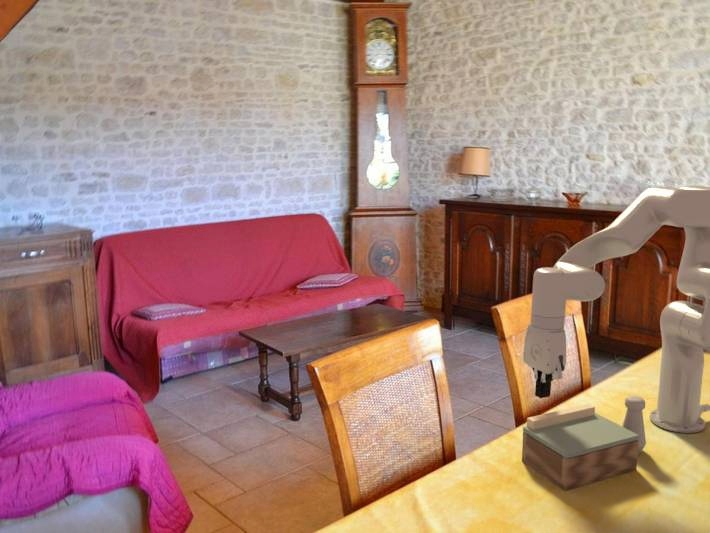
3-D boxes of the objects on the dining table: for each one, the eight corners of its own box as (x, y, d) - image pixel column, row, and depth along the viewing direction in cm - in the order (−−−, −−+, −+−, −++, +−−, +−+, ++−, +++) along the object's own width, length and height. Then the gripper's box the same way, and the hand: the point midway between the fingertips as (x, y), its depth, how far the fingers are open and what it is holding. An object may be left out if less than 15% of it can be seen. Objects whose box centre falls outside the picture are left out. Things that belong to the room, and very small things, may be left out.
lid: (591, 414, 152) (592, 403, 151) (638, 439, 139) (639, 426, 139) (523, 431, 144) (523, 418, 143) (566, 458, 131) (567, 445, 131)
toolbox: (589, 443, 153) (591, 415, 152) (636, 469, 141) (638, 440, 139) (521, 460, 145) (523, 432, 144) (565, 490, 133) (566, 459, 131)
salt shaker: (647, 457, 146) (651, 404, 143) (620, 455, 147) (624, 402, 145) (642, 445, 152) (646, 394, 149) (616, 443, 153) (619, 392, 150)
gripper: (514, 315, 153) (509, 387, 156) (557, 331, 139) (551, 410, 143) (539, 312, 156) (534, 383, 159) (583, 328, 142) (577, 405, 146)
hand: (542, 396), depth 151 cm, fingers closed
